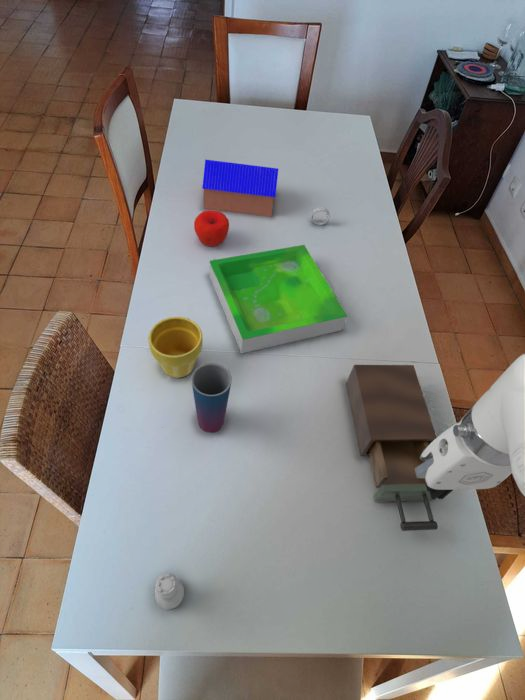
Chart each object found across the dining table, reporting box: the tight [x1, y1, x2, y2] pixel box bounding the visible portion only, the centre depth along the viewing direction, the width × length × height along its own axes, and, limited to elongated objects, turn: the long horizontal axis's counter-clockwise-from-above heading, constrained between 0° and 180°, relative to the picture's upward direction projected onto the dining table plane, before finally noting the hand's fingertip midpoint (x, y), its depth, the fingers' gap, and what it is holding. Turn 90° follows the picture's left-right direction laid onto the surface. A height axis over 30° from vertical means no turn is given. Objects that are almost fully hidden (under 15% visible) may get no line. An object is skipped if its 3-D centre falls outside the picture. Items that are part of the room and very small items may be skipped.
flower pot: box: [148, 316, 203, 379], centre depth 92 cm, size 10×10×10 cm
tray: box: [209, 244, 348, 354], centre depth 108 cm, size 25×25×5 cm
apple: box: [193, 209, 230, 247], centre depth 118 cm, size 9×9×8 cm
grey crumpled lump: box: [310, 207, 330, 226], centre depth 128 cm, size 3×5×5 cm, turn 90°
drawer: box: [368, 441, 439, 532], centre depth 83 cm, size 21×11×5 cm, turn 4°
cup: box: [191, 362, 233, 434], centre depth 83 cm, size 7×7×15 cm
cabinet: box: [345, 364, 438, 457], centre depth 91 cm, size 17×13×7 cm
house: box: [201, 158, 279, 218], centre depth 128 cm, size 12×20×12 cm, turn 87°
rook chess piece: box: [154, 572, 185, 611], centre depth 67 cm, size 4×4×8 cm
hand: (433, 489), depth 68 cm, fingers closed
